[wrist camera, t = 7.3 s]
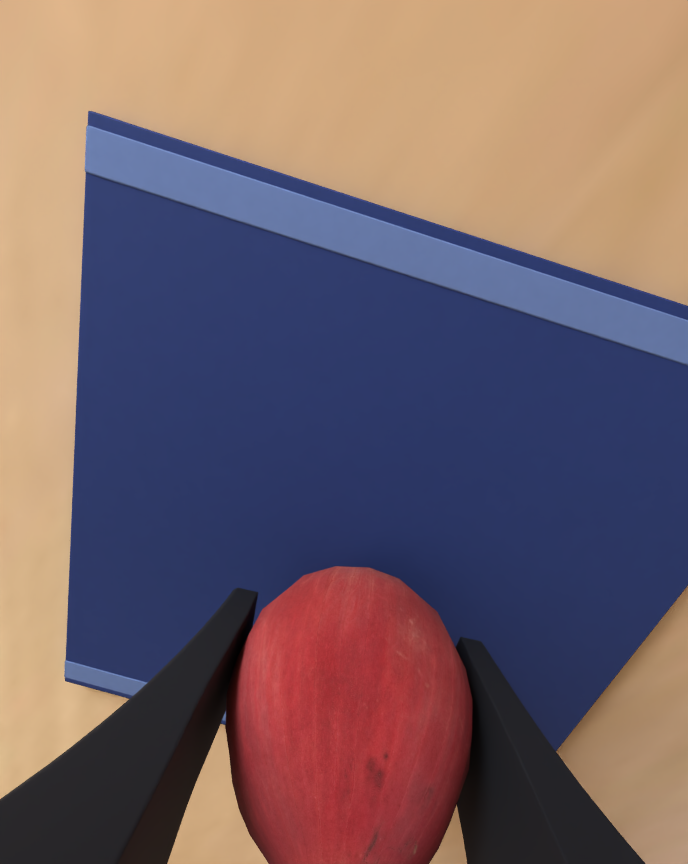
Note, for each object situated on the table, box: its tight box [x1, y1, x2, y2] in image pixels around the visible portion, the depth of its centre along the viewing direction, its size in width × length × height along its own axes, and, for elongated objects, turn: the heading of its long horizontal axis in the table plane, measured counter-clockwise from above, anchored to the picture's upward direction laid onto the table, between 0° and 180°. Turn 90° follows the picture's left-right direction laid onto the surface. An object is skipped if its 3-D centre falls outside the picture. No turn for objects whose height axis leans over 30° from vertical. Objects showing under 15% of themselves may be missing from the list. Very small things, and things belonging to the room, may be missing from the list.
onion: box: [225, 566, 473, 864], centre depth 9 cm, size 6×6×8 cm
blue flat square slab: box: [64, 111, 688, 751], centre depth 12 cm, size 20×20×1 cm
